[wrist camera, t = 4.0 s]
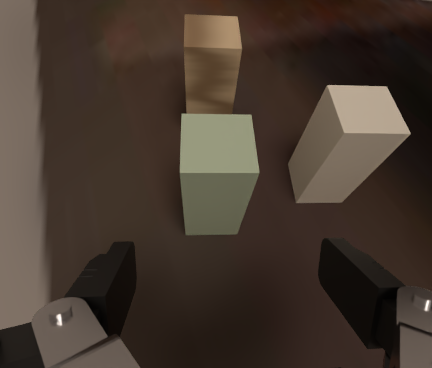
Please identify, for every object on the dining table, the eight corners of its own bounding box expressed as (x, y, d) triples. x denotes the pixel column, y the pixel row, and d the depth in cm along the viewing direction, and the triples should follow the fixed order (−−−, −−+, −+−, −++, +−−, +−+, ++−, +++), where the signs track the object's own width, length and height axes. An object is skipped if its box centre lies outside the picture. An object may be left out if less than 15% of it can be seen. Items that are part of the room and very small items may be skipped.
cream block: (329, 164, 29) (386, 86, 20) (341, 202, 27) (410, 133, 18) (287, 163, 29) (327, 85, 20) (295, 202, 26) (344, 133, 18)
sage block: (233, 189, 27) (251, 114, 18) (237, 234, 24) (259, 172, 16) (186, 189, 26) (181, 113, 18) (185, 235, 24) (179, 172, 15)
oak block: (226, 104, 32) (237, 16, 24) (228, 133, 30) (241, 48, 22) (187, 103, 32) (185, 14, 23) (187, 133, 30) (183, 46, 21)
